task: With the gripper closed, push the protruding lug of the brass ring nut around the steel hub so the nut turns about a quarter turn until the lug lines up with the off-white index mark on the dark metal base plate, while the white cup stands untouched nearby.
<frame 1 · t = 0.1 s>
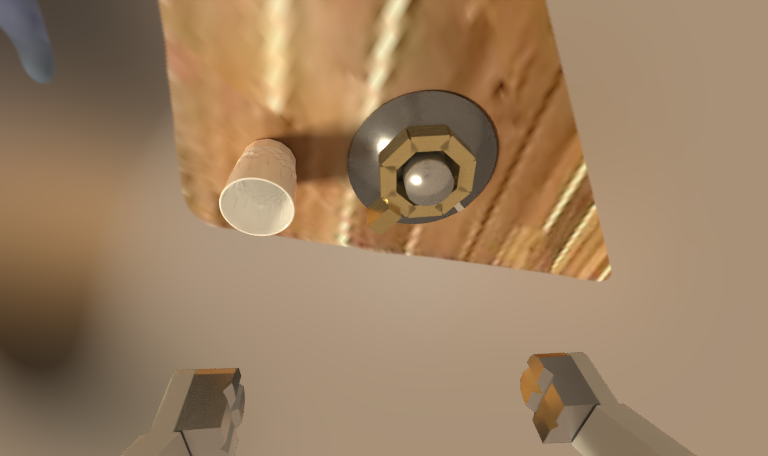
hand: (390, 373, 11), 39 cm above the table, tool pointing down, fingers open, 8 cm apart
hub plate: (422, 164, 52), on the table
white cup: (269, 161, 49), on the table
ring nut: (414, 185, 50), point 3 cm above the table, hinge at 0.0°
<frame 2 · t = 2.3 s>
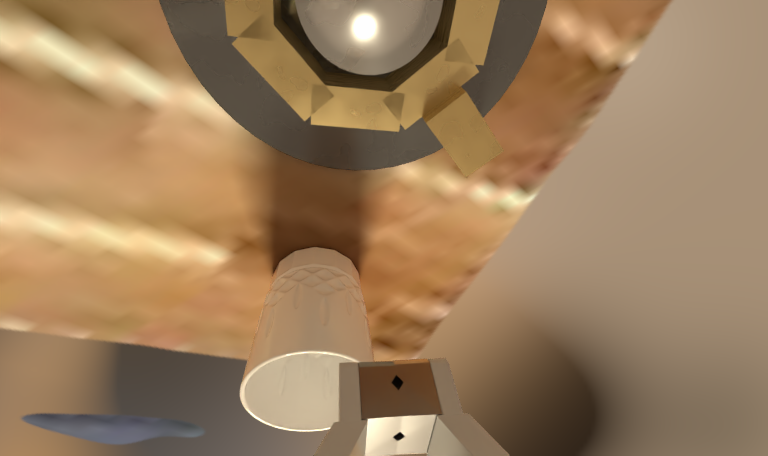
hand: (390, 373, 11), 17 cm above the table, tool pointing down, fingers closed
white cup: (316, 278, 31), on the table
ring nut: (391, 31, 19), point 3 cm above the table, hinge at 0.0°
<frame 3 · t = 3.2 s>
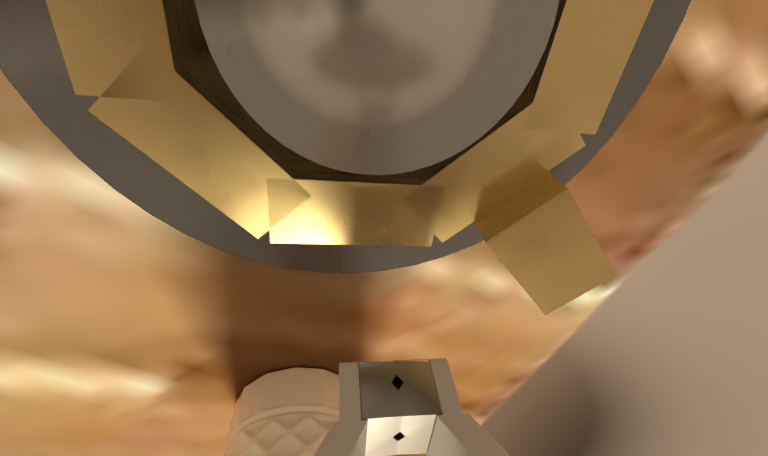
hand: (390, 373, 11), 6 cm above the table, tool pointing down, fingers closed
white cup: (300, 399, 22), on the table
ring nut: (421, 72, 9), point 3 cm above the table, hinge at 0.0°
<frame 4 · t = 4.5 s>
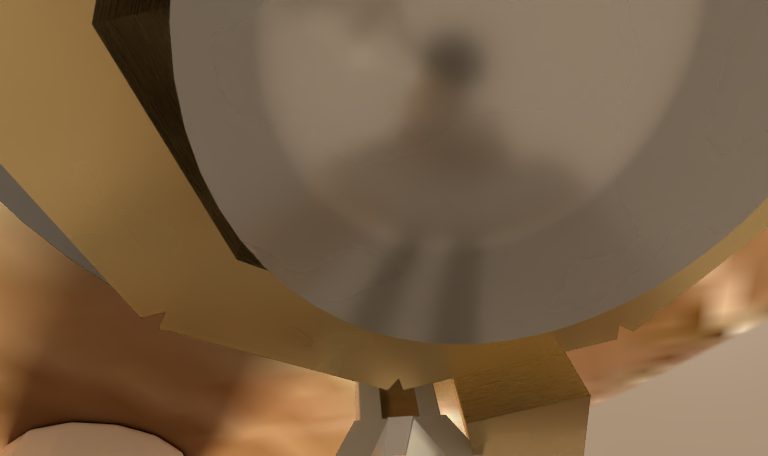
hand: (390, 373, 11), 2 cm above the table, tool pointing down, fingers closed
hub plate: (423, 35, 8), on the table
ring nut: (474, 181, 7), point 3 cm above the table, hinge at 2.3°, touching gripper
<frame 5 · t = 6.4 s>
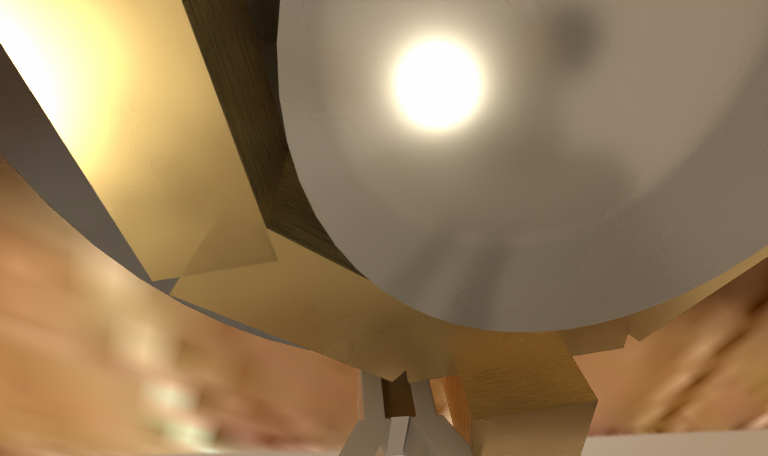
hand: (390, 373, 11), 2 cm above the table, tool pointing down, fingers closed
hub plate: (463, 28, 8), on the table
ring nut: (508, 174, 7), point 3 cm above the table, hinge at 42.4°, touching gripper
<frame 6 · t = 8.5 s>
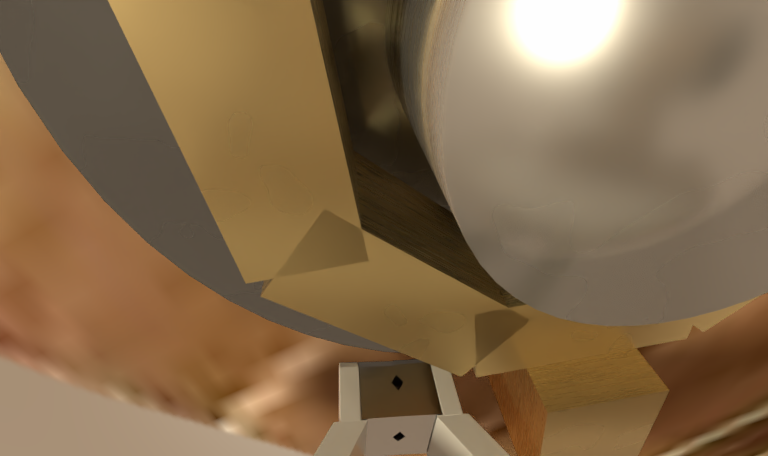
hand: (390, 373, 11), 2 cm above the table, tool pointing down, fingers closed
hub plate: (526, 26, 8), on the table
ring nut: (584, 171, 7), point 3 cm above the table, hinge at 81.3°
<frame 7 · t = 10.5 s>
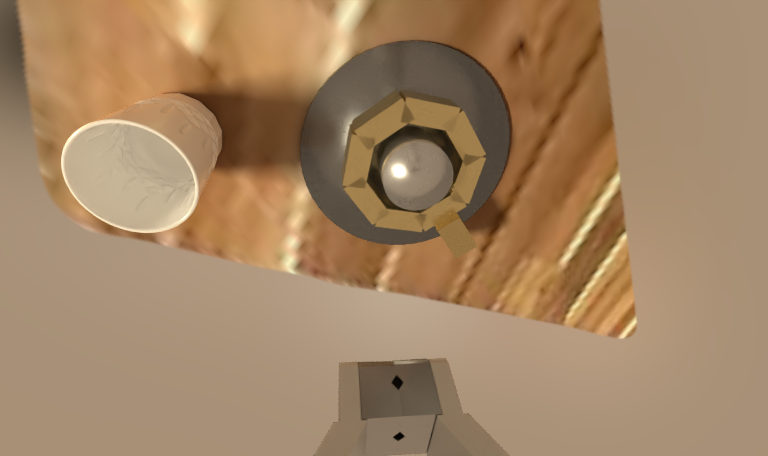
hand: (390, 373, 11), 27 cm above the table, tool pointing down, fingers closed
hub plate: (406, 155, 37), on the table
white cup: (182, 131, 33), on the table
ring nut: (423, 183, 35), point 3 cm above the table, hinge at 81.3°
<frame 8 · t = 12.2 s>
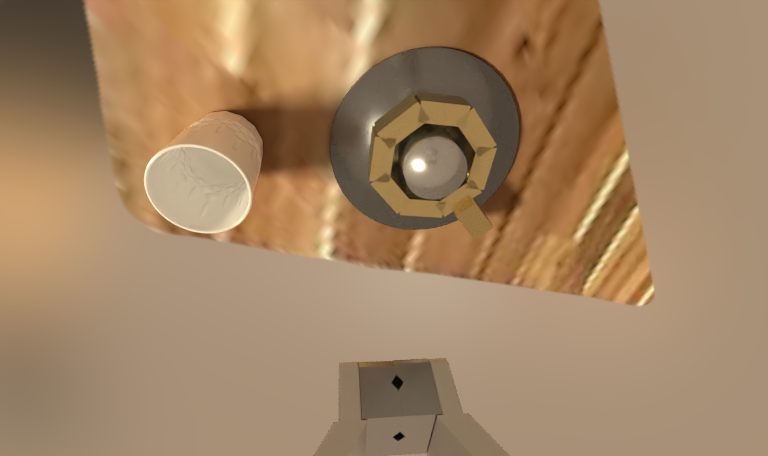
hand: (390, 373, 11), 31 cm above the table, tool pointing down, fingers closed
hub plate: (425, 149, 41), on the table
white cup: (229, 143, 38), on the table
ring nut: (441, 174, 39), point 3 cm above the table, hinge at 81.3°
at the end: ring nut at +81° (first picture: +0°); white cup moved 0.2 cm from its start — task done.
